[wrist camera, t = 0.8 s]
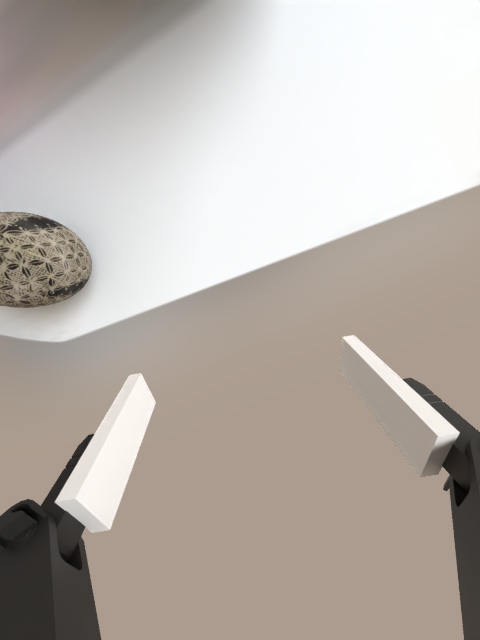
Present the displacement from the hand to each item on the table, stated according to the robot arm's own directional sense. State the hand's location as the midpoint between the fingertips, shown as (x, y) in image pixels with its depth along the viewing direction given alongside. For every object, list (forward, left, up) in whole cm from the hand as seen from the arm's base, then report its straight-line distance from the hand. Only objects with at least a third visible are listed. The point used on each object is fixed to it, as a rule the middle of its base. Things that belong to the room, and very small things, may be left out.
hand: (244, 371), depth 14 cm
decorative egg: (-7, -26, -27) cm, 38 cm away
